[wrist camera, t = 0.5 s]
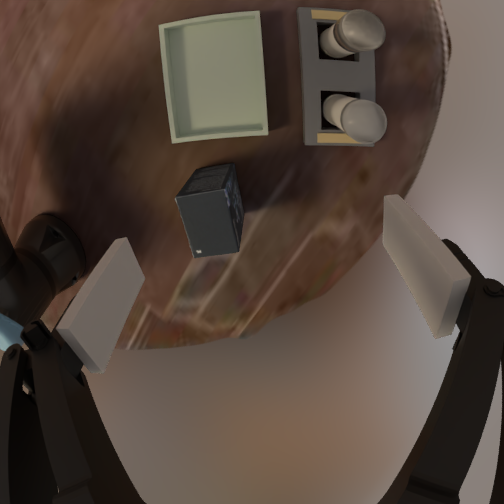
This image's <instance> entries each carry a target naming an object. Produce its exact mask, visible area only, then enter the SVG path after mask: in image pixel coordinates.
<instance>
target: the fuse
mask: <svg viewBox="0 0 504 504" xmlns="http://www.w3.org/2000/svg"><path fill="white" fill-rule="evenodd" d="M321 112H322V115H323V117H324V118H325V119H326V120H327V121H328V122H330V123H331V124H333V125H335V126H337V127H338V128H340V129H341V130H343V131H344V132H345V133H346V134H347V135H348V136H349V137H351V138H352V139H354V140H355V141H357V142H359V143H362V144H371V143H374V142H376V141H378V140H379V139H380V138H381V137H382V136H383V135H384V133H385V131H386V128H387V118H386V115H385V113H384V111H383V109H382V108H381V107H380V106H379V105H378V104H376V103H374V102H372V101H369V100H365V99H356V98H352V97H348V96H345V95H342V94H331V95H329V96H327V97H326V98H325V99H324V100H323V102H322V105H321Z"/></svg>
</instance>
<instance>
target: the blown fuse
mask: <svg viewBox="0 0 504 504" xmlns="http://www.w3.org/2000/svg"><path fill="white" fill-rule="evenodd" d="M385 36H386V32H385V28H384V25H383V23H382V22H381V20H380V19H379V18H378V17H377V16H376V15H374V14H373V13H371V12H369V11H366V10H362V9H355V10H351V11H349V12H348V13H346V14H345V15H344V16H342V17H341V18H340V19H339V20H338V21H337V22H336V23H335V24H334V25H332V26H331V27H330V28H328V29H326V30H325V31H323V32H322V33H321V34H320V36H319V39H318V45H319V48H320V50H321V51H322V52H323V53H324V54H325V55H326V56H328V57H331V58H335V59H338V58H343V57H346V56H348V55H351V54H355V53H360V52H366V51H371V50H375V49H377V48H379V47H380V46H381V45H382V44H383V43H384V40H385Z"/></svg>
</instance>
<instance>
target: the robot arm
mask: <svg viewBox="0 0 504 504" xmlns="http://www.w3.org/2000/svg"><path fill="white" fill-rule="evenodd" d="M383 246H384V247H385V249H386V251H387V252H388V254H389V256H390V257H391V259H392V260H393V262H394V264H395V266H396V267H397V269H398V271H399V272H400V274H401V276H402V277H403V279H404V281H405V283H406V284H407V286H408V288H409V290H410V292H411V293H412V295H413V297H414V299H415V301H416V302H417V304H418V306H419V308H420V310H421V312H422V314H423V316H424V318H425V319H426V322H427V324H428V326H429V328H430V330H431V332H432V334H433V336H434V338H435V339H437V338H441V337H444V336H448V335H451V334H452V332H453V329H454V327H455V324H457V326H458V328H459V329H460V332H459V335H458V337H457V339H456V342H455V344H454V346H453V354H452V357H451V360H450V363H449V366H448V369H447V371H446V374H445V377H444V380H443V382H442V385H441V388H440V390H439V393H438V395H437V398H436V400H435V402H434V405H433V407H432V410H431V412H430V414H429V416H428V418H427V421H426V423H425V425H424V427H423V429H422V431H421V433H420V435H419V437H418V439H417V441H416V443H415V445H414V447H413V449H412V451H411V452H410V454H409V456H408V458H407V460H406V461H405V463H404V465H403V467H402V468H401V470H400V472H399V473H398V475H397V477H396V478H395V480H394V481H393V483H392V485H391V486H390V488H389V489H388V491H387V492H386V494H385V495H384V496H383V498H382V499H381V500H380V501H379V502H378V504H459V502H460V499H459V496H458V494H459V491H460V488H461V486H462V483H463V481H464V479H465V477H466V475H467V472H468V470H469V468H470V465H471V463H472V460H473V458H474V455H475V453H476V450H477V447H478V445H479V442H480V439H481V436H482V433H483V430H484V427H485V424H486V420H487V417H488V414H489V410H490V406H491V402H492V399H493V395H494V391H495V387H496V382H497V377H498V372H499V367H500V362H501V367H502V421H501V422H502V423H501V436H500V446H499V455H498V462H497V469H496V475H495V480H494V485H493V490H492V495H491V499H490V503H489V504H504V286H503V285H502V284H501V283H500V282H498V281H496V280H494V279H489V278H487V279H485V278H484V276H483V275H482V274H481V273H480V271H479V270H478V269H477V268H476V267H475V265H474V264H473V263H472V262H471V261H470V260H469V259H468V257H467V256H466V255H465V254H464V253H463V252H462V250H461V249H460V248H459V247H458V246H457V245H456V244H455V243H453V242H452V241H450V240H448V239H444V240H441V239H440V238H439V237H438V236H437V235H436V234H435V233H434V232H433V231H432V229H431V228H430V227H429V226H428V225H427V224H426V223H425V222H424V221H423V220H422V219H421V218H420V216H419V215H418V214H417V213H416V212H415V211H414V210H413V209H412V208H411V207H410V206H409V205H408V204H407V203H406V202H405V201H404V200H403V199H402V198H401V197H400V196H399V195H398V194H396V195H387V196H384V221H383ZM85 265H86V260H85V254H84V250H83V248H82V245H81V243H80V241H79V239H78V238H77V236H76V235H75V233H74V232H73V231H72V230H71V229H70V228H69V227H68V226H67V225H66V224H65V223H64V222H63V221H61V220H60V219H58V218H56V217H54V216H51V215H38V216H36V217H35V218H33V219H32V220H31V221H30V222H29V223H28V224H27V225H26V226H25V227H24V229H23V231H22V233H21V235H20V237H19V239H18V241H17V243H16V245H15V247H14V248H13V246H12V244H11V241H10V239H9V237H8V234H7V232H6V230H5V227H4V225H3V222H2V220H1V217H0V349H1V350H4V351H5V353H4V355H3V357H2V361H1V365H0V504H146V503H145V502H144V501H143V500H142V498H141V497H140V496H139V494H138V492H137V490H136V489H135V487H134V485H133V483H132V482H131V480H130V478H129V476H128V474H127V473H126V471H125V469H124V467H123V465H122V463H121V461H120V459H119V457H118V455H117V453H116V451H115V449H114V447H113V445H112V442H111V440H110V438H109V436H108V434H107V431H106V429H105V427H104V424H103V422H102V420H101V417H100V415H99V412H98V410H97V407H96V405H95V402H94V400H93V397H92V394H91V391H90V388H89V386H88V382H87V380H86V377H85V375H84V373H83V372H82V371H81V368H82V366H83V364H84V365H85V366H86V367H87V369H88V370H89V371H90V372H91V373H104V372H105V369H106V367H107V364H108V362H109V359H110V356H111V354H112V352H113V349H114V347H115V345H116V342H117V340H118V338H119V335H120V333H121V331H122V328H123V326H124V324H125V321H126V319H127V317H128V315H129V312H130V310H131V308H132V306H133V303H134V301H135V299H136V297H137V295H138V293H139V291H140V288H141V286H142V284H143V282H144V280H145V277H144V275H143V273H142V270H141V268H140V266H139V264H138V262H137V259H136V257H135V255H134V253H133V250H132V248H131V246H130V243H129V241H128V239H127V237H125V238H120V239H115V241H114V242H113V243H112V245H111V246H110V247H109V249H108V250H107V251H106V253H105V254H104V256H103V257H102V258H101V260H100V261H99V263H98V264H97V265H96V267H95V268H94V270H93V271H92V273H91V274H90V276H89V277H88V278H87V280H86V281H85V283H84V284H83V286H82V287H81V289H80V290H79V292H78V294H77V295H76V296H75V297H74V298H73V299H72V300H71V301H70V303H69V304H68V306H67V308H66V309H65V311H64V312H63V313H64V314H62V316H61V317H60V319H59V321H58V322H57V324H56V326H55V327H54V329H53V331H52V332H50V331H49V330H48V328H47V327H46V326H45V324H44V323H43V321H42V320H41V319H40V318H41V316H42V315H43V313H44V312H45V310H46V309H47V308H48V306H49V305H50V303H51V302H52V300H53V299H54V297H55V296H56V295H58V294H60V293H61V292H63V291H65V290H66V289H68V288H69V287H71V286H73V285H74V284H75V283H76V282H77V281H78V280H79V278H80V277H81V276H82V274H83V273H84V270H85ZM24 343H25V344H26V345H27V346H28V348H29V349H28V350H24V349H23V348H22V345H23V344H24ZM22 385H24V386H25V387H26V388H27V389H28V390H29V393H28V394H26V393H25V392H24V391H23V387H22ZM57 486H58V487H57ZM58 489H59V494H58Z"/></svg>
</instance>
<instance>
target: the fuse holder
mask: <svg viewBox="0 0 504 504" xmlns="http://www.w3.org/2000/svg"><path fill="white" fill-rule="evenodd" d="M348 12H349V10H340V9H328V8H311V7H298V9H297V11H296V13H297V24H298V37H299V51H300V67H301V86H302V110H303V142H304V144H305V145H339V146H369V147H374V143H371V144H362V143H359V142H357V141H355V140H354V139H352V138H351V137H349V136H348V135H347V134H346V133H345V132H344V131H343V130H341V129H340V128H338V127H321V91H344V92H355V98H356V99H365V100H369V101H372V102H374V103H375V54H374V50H371V51H366V52H360V53H355V54H354V61H341V60H324V59H319V49H318V35H317V25H323V26H332V25H334V24H335V23H336V22H337V21H338V20H339V19H340V18H341V17H342V16H344V15H345V14H346V13H348Z"/></svg>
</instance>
